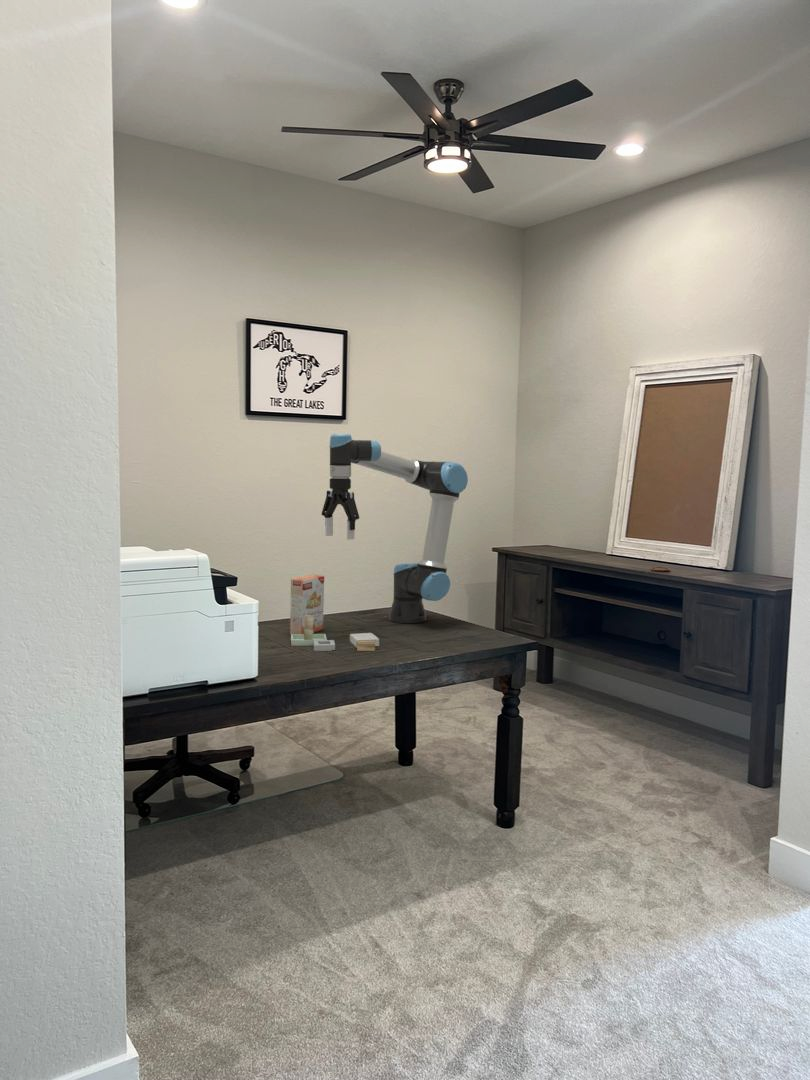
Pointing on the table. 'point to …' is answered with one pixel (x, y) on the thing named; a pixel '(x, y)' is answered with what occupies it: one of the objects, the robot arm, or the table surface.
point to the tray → (299, 640)
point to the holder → (324, 645)
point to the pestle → (308, 627)
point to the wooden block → (365, 645)
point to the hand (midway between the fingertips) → (339, 537)
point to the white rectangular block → (363, 638)
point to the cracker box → (306, 602)
